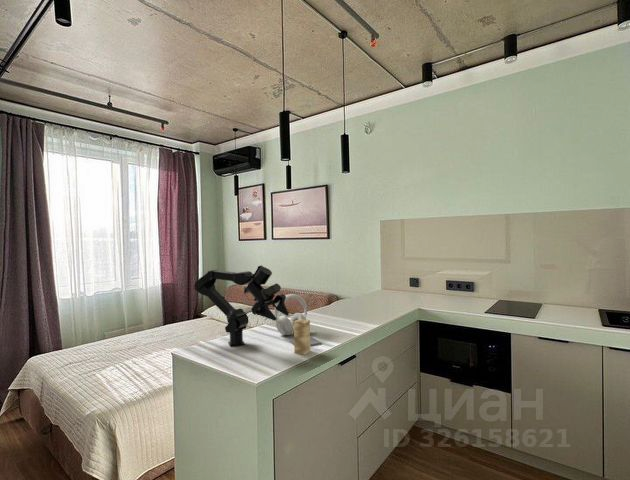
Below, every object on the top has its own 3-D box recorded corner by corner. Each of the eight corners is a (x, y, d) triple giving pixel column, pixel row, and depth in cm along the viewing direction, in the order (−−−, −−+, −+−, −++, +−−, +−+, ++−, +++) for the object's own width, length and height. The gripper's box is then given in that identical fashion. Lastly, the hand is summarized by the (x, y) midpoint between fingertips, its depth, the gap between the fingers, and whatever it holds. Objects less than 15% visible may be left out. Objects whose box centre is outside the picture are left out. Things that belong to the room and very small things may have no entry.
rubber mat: (289, 341, 151) (289, 339, 151) (310, 337, 155) (310, 336, 155) (298, 348, 141) (298, 346, 141) (321, 344, 146) (321, 342, 146)
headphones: (280, 340, 153) (279, 297, 153) (270, 335, 161) (269, 295, 162) (312, 332, 164) (311, 293, 164) (301, 328, 172) (300, 291, 173)
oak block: (294, 353, 135) (293, 321, 135) (299, 349, 139) (299, 319, 139) (305, 354, 133) (304, 322, 133) (310, 350, 137) (309, 319, 137)
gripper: (253, 281, 132) (278, 307, 126) (280, 276, 149) (303, 299, 143) (241, 301, 136) (264, 328, 130) (268, 294, 152) (290, 317, 146)
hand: (282, 317), depth 137 cm, fingers open, 9 cm apart
